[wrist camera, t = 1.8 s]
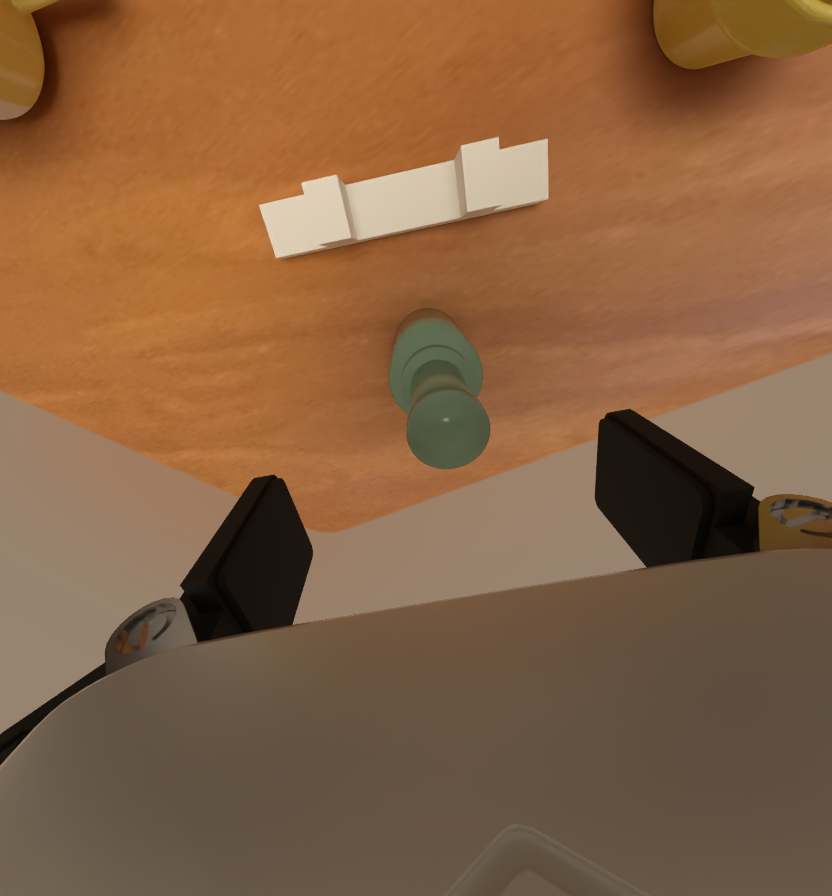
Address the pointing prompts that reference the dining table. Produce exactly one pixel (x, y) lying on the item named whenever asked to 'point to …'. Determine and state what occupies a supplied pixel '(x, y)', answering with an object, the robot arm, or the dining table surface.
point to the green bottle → (439, 390)
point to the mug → (20, 57)
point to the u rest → (408, 198)
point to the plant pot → (739, 29)
